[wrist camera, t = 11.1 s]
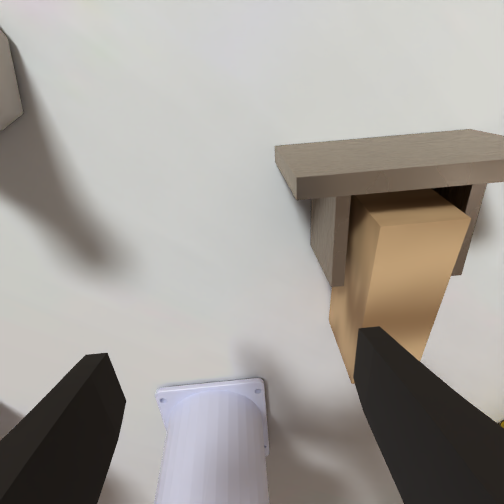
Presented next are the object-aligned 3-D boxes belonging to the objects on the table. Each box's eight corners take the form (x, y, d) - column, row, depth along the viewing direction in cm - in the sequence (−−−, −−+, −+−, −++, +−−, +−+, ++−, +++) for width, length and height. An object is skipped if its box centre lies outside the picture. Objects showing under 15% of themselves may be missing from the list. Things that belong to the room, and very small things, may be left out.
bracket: (445, 232, 19) (528, 290, 14) (278, 247, 19) (297, 312, 14) (470, 129, 16) (585, 152, 11) (274, 146, 16) (296, 177, 11)
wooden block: (342, 179, 16) (380, 226, 12) (411, 173, 16) (471, 218, 12) (328, 320, 22) (351, 383, 18) (379, 315, 22) (413, 377, 18)
